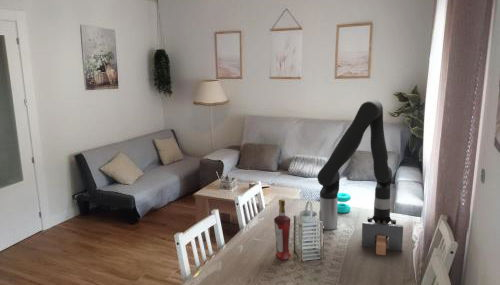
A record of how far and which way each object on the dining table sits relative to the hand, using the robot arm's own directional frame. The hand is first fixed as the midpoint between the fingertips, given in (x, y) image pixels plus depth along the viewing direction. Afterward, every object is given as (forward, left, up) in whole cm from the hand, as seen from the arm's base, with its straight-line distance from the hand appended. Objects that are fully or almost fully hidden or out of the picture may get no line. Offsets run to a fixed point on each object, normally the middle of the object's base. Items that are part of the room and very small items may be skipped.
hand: (380, 238), depth 184 cm
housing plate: (0, -10, 0) cm, 10 cm away
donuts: (-22, +33, -1) cm, 40 cm away
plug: (0, -7, 0) cm, 7 cm away
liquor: (-43, -31, -1) cm, 53 cm away
